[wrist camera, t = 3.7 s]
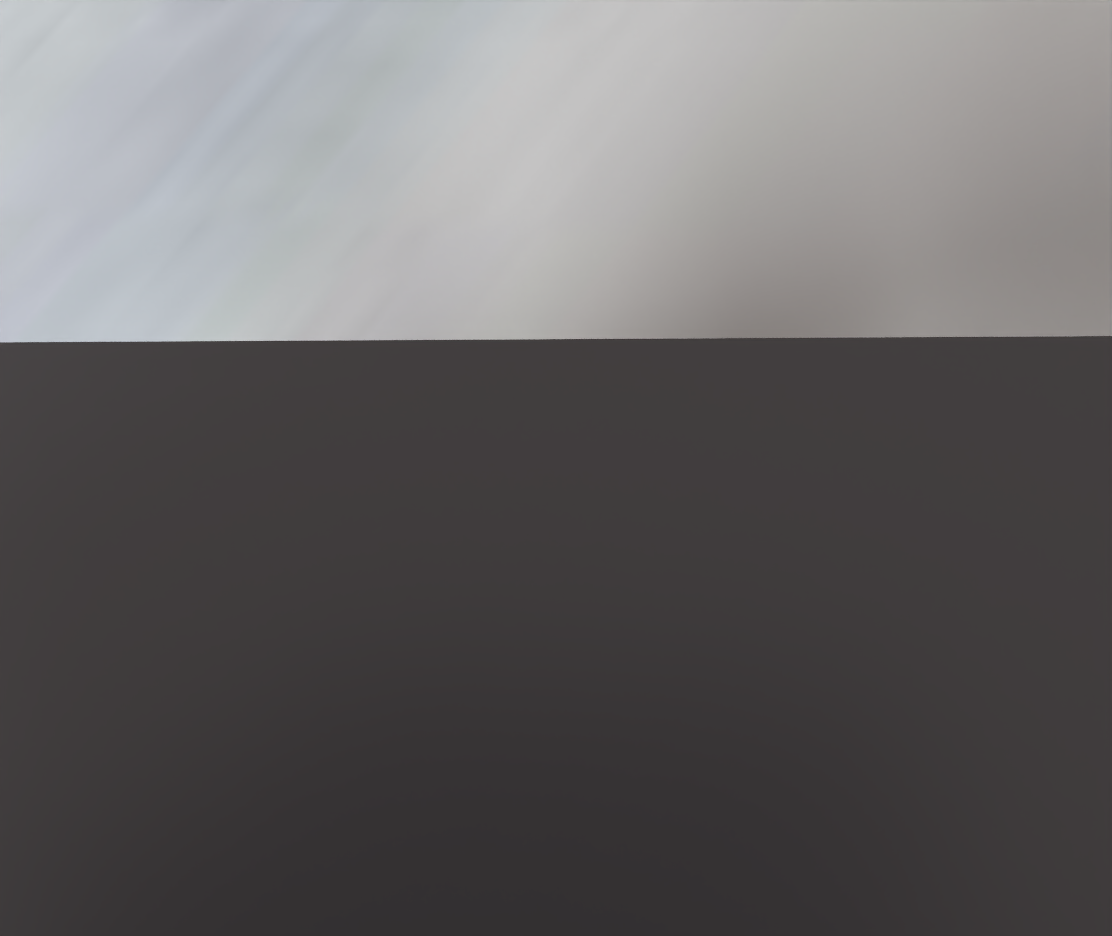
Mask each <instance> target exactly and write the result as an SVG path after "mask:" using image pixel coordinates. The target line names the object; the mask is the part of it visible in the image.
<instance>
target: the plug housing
mask: <svg viewBox="0 0 1112 936" xmlns="http://www.w3.org/2000/svg"><path fill="white" fill-rule="evenodd" d="M0 936H1112V336H1080V337H902V338H725V339H547V340H369V341H191V342H14V343H0Z"/></svg>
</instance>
